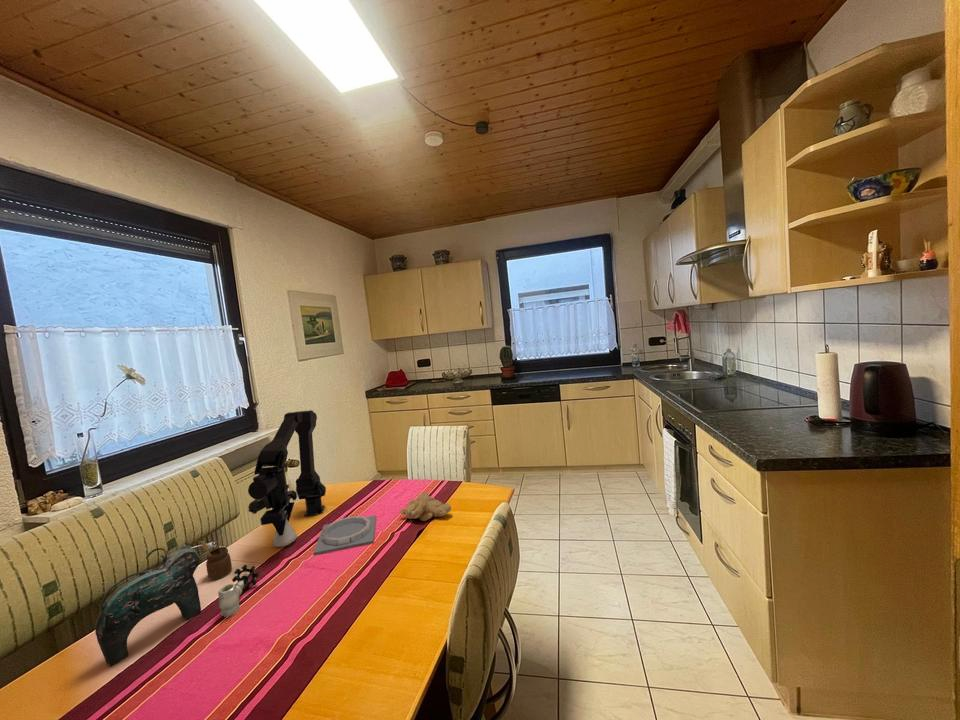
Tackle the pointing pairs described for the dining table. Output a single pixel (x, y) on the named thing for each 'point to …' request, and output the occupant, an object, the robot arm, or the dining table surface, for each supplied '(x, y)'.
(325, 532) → the stone ring
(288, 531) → the flask
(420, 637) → the dining table surface
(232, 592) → the valve
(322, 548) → the rubber mat
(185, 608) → the green animal figurine
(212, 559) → the utensil holder
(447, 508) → the ginger root
